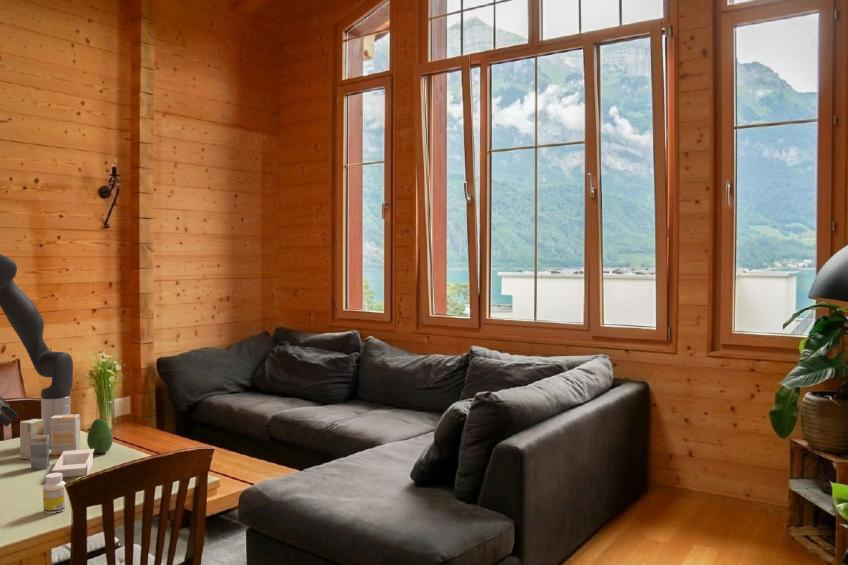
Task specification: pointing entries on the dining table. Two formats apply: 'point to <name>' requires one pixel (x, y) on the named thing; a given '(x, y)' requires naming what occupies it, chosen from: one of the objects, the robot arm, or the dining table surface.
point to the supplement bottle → (54, 493)
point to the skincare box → (29, 435)
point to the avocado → (100, 436)
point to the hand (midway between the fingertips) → (12, 420)
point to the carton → (74, 462)
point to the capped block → (40, 452)
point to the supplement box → (65, 433)
